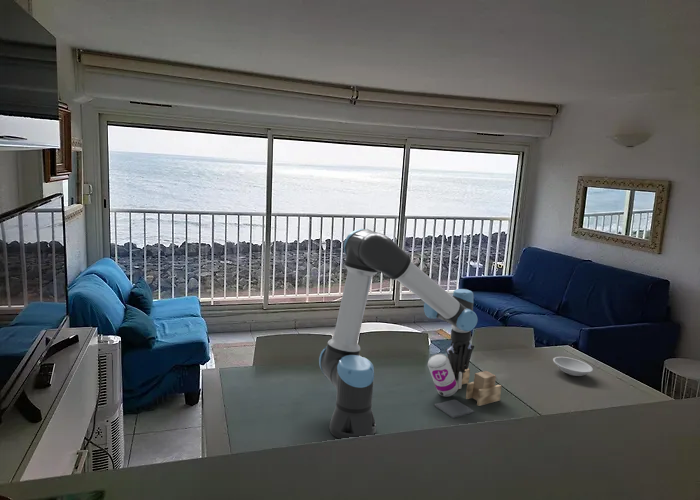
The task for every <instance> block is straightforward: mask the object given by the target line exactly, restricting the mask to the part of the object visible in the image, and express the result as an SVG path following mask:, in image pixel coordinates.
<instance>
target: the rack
mask: <svg viewBox="0 0 700 500" xmlns="http://www.w3.org/2000/svg"><path fill="white" fill-rule="evenodd" d="M446 357H447V358H448V356H446ZM465 371H466V372H465V373H463V379H462V385H465V384H466V393H465V399H466V400H469V399H473V400H475V401H476V402H477V403H476V406H477V407H478V406H481V407H482V406H484V405H488V404H491V403H494V402H495V403H496V402H498V401H501V396H502V395H501V392H502V385H501V384H496V380H497V379H496V378H497V376H496V375H495V374H494V373H491V372H490V371H487V370H482V371H479V372H474V377H473V378H474V379H473V381H471V382H470V373H471V369H470V368H469V367H468V369H467V370H466V369H465ZM453 373H454V372H453Z"/></svg>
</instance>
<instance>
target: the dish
mask: <svg viewBox="0 0 700 500" xmlns="http://www.w3.org/2000/svg"><path fill="white" fill-rule="evenodd" d="M552 361H553V363H554V364H555V366H557V368H558V369H559V370H560V371H561V372H563V373H566V374H567V375H569V376H574V377H575V376H576V377H581V376H585V375H588V374H589V373H592V372H594V371H593V370H594V369H593V367H592V366H591V365H590V364H588V363H587V362H585V361H582V360H579V359H576V358H572V357H567V356H555V357H553V358H552Z"/></svg>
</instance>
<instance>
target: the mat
mask: <svg viewBox="0 0 700 500" xmlns="http://www.w3.org/2000/svg"><path fill="white" fill-rule="evenodd" d="M433 406H434V407H435V408H437V409H439V410H440V411H441V412H442V413H444V414H446V416H449V417H451V419H454V418H460V417H463V416H466V415H469V414H474V413H475V411H474V410H473V409H471V408H470V407H468V406H467V405H465V404H463V402H460V401H459V400H457V399H451V400H446V401H443V402H440V403H439V402H438V403H434V404H433Z"/></svg>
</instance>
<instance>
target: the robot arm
mask: <svg viewBox="0 0 700 500" xmlns="http://www.w3.org/2000/svg"><path fill="white" fill-rule="evenodd" d="M343 252H344V253H345V261H344V267H345V269H346V270H347V273H346V279H345V282H344V287H343V292H342V296H341V299H340V304H339V305H340V306H339V309H338V314H337V319H336V324H335V329H334V331H333V332H334V333H333V337H332V338H330V339H329V340H328V341H327V343H326V346H325V347H324V348H323V349H322V350H321V352H320V354H319V357H318V363H319V364H318V365H319V368H320V370H321V372H322V374H323V375H324V377H325V378H326V379H328V381H329V382H330V383H331V384H332V386H334V388H335V389H336V397H335V398H336V399H335V407H334V410H333V413H332V415H331V418H330V419H329V420H330V421H329V432H330V433H331V435H332V436H333V437H334V438H337V439H339V440H341V439H340V438H349V437H359V436H366V435H373V434H374V433H375V434H376V430H377V428H376V427H377V425H376V420H375V417H374V412H373V394H374V393H373V391H374V379H375V371H374V370H375V367H374V364H373V363H372V362H371V361H370V359H368V358H366V357H365V356H363V357H362V356H361V355H360V352H361V346H360V345H359V343H358V341H359V337H360V332H361V329H362V324H363V319H364V314H365V309H366V306H367V302H368V297H369V292H370V288H371V283H372V279H373V277H374V276H375V275H377V274H378V273H381V274H383V275H385V276H386V277H388V278H389V279H390V280H393V281H395V280H397V282H399V283H400V284H402V286H404V287H405V288H406V289H408V291H410V292H411V293H413V294H414V295H415V296H416V297H418V299H420V300H421V301H423V302H424V304H423V311H424V314H425V316H426V318H428V319H432V320H433V319H434V320H435V319H439V320H442V321H444V322H445V323H448V324H450V325H451V327H450V328H451V330H450V339H451V343H450V347H446V348H445V352H446V356H447V357H448V359H449V361H450V364H451V367H452V370H453V372H454V376H455V378H456V381H457V384H458V390H460V389H462V385H463V384H462V379H463V373H465V372H466V371H465V369H466V370H467V369H468V368H469V365H470V363H471V362H470V361H471V357H472V354H473V351H474V348H475V345H474V344H471V339H472V330H473V329H475V327H476V326H477V324H478V316H477V314H476V312H475V311H474V302H475V301H474V292H473V291H472V290H469V289H467V288H457V289H454V291H453V293H452V294H450V293H449V292H448V291H446V289H445V288H443V287H442V286H441V285H440V284H438V283H437V282H436V281H435V280H434V279H433V278H431V277H430V276H429V275H427V273H426V272H424V271H423V270H422V269H421V268H419V267H418V266H417V265H416V264H415V263H413V262H412V257H411V256H410V255H409V254H408V253H406V252H405V250H403V249H402V248H401V247H400V246H399V245H398V244H397V243H395V241H393V240H392V239H391V238H390V237H388V236H387V235H386V234H383V233H380V232H376V231H373V230H371V229H369V228H360V229H359V228H358V229H355V230H353V231H351V232H350V233H349V234H348V235H347V236H346V238H345V240H344V243H343ZM375 434H374V435H375Z"/></svg>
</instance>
